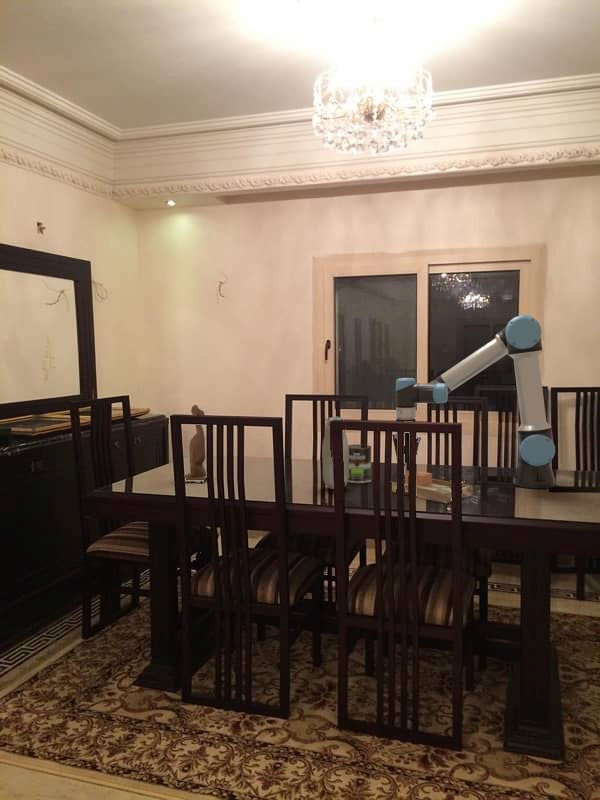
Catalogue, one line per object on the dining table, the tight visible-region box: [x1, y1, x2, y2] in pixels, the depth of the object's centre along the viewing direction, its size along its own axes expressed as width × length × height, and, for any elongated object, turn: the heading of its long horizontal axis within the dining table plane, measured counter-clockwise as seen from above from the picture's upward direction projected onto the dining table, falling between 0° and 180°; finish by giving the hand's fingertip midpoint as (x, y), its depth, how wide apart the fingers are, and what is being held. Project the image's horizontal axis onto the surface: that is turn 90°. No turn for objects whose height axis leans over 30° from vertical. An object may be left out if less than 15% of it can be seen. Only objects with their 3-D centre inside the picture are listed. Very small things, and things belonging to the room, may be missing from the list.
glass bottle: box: [321, 416, 349, 490], centre depth 241 cm, size 10×10×28 cm
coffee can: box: [348, 444, 372, 484], centre depth 255 cm, size 10×10×14 cm
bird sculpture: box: [184, 404, 207, 481], centre depth 261 cm, size 11×12×32 cm
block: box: [404, 470, 433, 486], centre depth 239 cm, size 6×8×4 cm
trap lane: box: [391, 478, 474, 504], centre depth 232 cm, size 16×26×4 cm, turn 41°
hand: (406, 478), depth 244 cm, fingers closed
